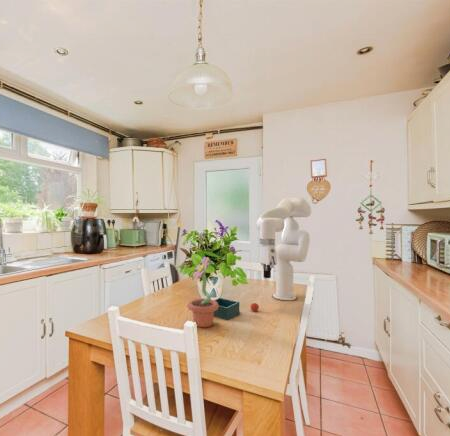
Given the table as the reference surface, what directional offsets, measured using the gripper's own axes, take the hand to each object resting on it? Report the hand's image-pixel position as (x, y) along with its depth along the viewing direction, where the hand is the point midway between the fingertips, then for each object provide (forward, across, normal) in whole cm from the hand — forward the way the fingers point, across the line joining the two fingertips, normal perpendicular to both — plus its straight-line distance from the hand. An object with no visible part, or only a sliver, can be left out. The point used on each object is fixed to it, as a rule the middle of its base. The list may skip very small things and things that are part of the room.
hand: (267, 277), depth 142 cm
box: (+17, 0, +24) cm, 29 cm away
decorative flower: (+17, -10, +38) cm, 43 cm away
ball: (+17, 0, +7) cm, 18 cm away
